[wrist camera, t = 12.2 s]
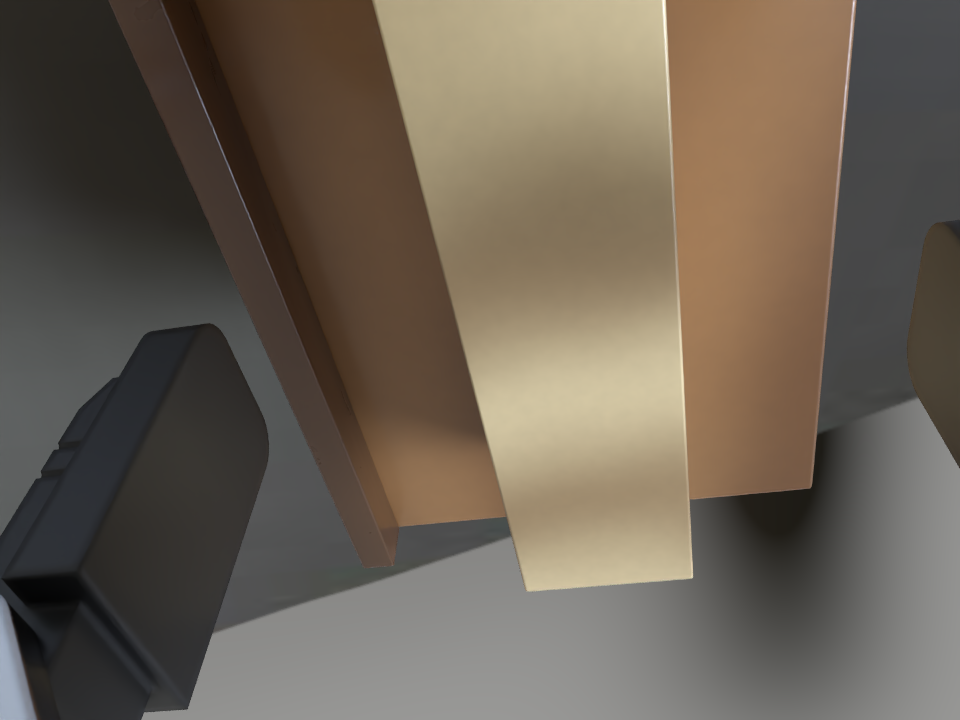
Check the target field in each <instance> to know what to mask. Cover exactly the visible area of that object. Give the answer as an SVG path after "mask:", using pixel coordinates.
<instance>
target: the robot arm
mask: <svg viewBox="0 0 960 720" xmlns="http://www.w3.org/2000/svg"><path fill="white" fill-rule="evenodd" d="M907 359H908V367H909V372H910V376H911V380H912V383H913V386H914V389H915V391H916V393H917V395H918V397H919V399H920V401H921V403H922V404H923V406H924V408H925V409H926V411H927V413H928V415H929V416H930V418H931V420H932V421H933V423H934V425H935V426H936V428H937V430H938V432H939V433H940V435H941V437H942V439H943V440H944V442H945V444H946V445H947V447H948V449H949V451H950V452H951V454H952V456H953V458H954V459H955V461H956V463H957V465H958V466H959V468H960V220H955V221H948V222H941V223H936V224H934V225H933V226H932V227H931V228H930V229H929V231H928V233H927V235H926V238H925V241H924V246H923V251H922V257H921V263H920V269H919V275H918V280H917V286H916V292H915V298H914V304H913V310H912V316H911V322H910V327H909V333H908V340H907ZM58 444H59V450H54V451H53V452H52V454H51V455H50V457H49V459H48V460H47V462H46V464H45V465H44V467H43V468H42V470H41V474H42V477H41V478H39V479H36V480H35V481H34V483H33V485H32V486H31V488H30V489H29V491H28V493H27V494H26V496H25V497H24V499H23V501H22V502H21V504H20V506H19V507H18V509H17V510H16V512H15V514H14V515H13V517H12V519H11V520H10V522H9V523H8V525H7V527H6V528H5V530H4V531H3V533H2V535H1V536H0V720H141V719H142V716H143V713H144V712H155V711H171V710H185V709H188V706H189V703H190V700H191V697H192V693H193V691H194V687H195V684H196V681H197V678H198V675H199V672H200V669H201V666H202V663H203V660H204V657H205V654H206V651H207V647H208V645H209V642H210V639H211V636H212V632H213V629H214V626H215V623H216V620H217V617H218V614H219V611H220V608H221V605H222V602H223V599H224V596H225V593H226V590H227V586H228V583H229V580H230V577H231V574H232V571H233V568H234V565H235V562H236V559H237V556H238V553H239V550H240V547H241V544H242V540H243V537H244V534H245V531H246V528H247V525H248V522H249V519H250V516H251V513H252V510H253V507H254V504H255V501H256V498H257V494H258V491H259V488H260V485H261V482H262V479H263V476H264V473H265V470H266V466H267V462H268V455H269V441H268V433H267V428H266V424H265V420H264V417H263V415H262V413H261V411H260V409H259V407H258V404H257V402H256V400H255V398H254V396H253V394H252V392H251V390H250V388H249V386H248V384H247V382H246V379H245V377H244V375H243V373H242V371H241V369H240V367H239V365H238V363H237V361H236V359H235V357H234V355H233V352H232V350H231V348H230V346H229V344H228V342H227V340H226V338H225V336H224V335H223V333H222V332H221V330H220V329H219V328H218V327H216V326H215V325H213V324H210V323H209V324H200V325H193V326H186V327H179V328H172V329H165V330H157V331H151V332H148V333H147V334H145V335H144V336H143V338H142V339H141V340H140V342H139V344H138V346H137V347H136V349H135V351H134V352H133V354H132V356H131V357H130V359H129V361H128V362H127V364H126V366H125V368H124V369H123V371H122V373H121V374H120V376H119V377H117V378H112V379H111V380H110V381H109V382H108V383H107V384H106V385H105V386H104V387H103V388H102V389H101V390H99V391H98V392H97V393H96V394H95V395H94V396H93V397H92V398H91V399H90V400H89V401H88V402H86V403H85V404H84V405H83V406H82V407H81V408H80V409H79V410H78V412H77V413H76V415H75V417H74V418H73V420H72V421H71V423H70V425H69V426H68V428H67V430H66V431H65V433H64V434H63V436H62V438H61V439H60V441H59V443H58Z"/></svg>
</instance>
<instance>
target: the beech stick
mask: <svg viewBox="0 0 960 720" xmlns="http://www.w3.org/2000/svg"><path fill="white" fill-rule="evenodd" d="M372 3H373V6H374V10H375V14H376V18H377V22H378V26H379V29H380V33H381V37H382V41H383V45H384V49H385V53H386V56H387V60H388V64H389V68H390V72H391V76H392V79H393V83H394V87H395V91H396V95H397V99H398V102H399V106H400V110H401V114H402V118H403V122H404V126H405V129H406V133H407V137H408V141H409V145H410V149H411V152H412V156H413V160H414V164H415V168H416V172H417V175H418V179H419V183H420V187H421V191H422V195H423V199H424V202H425V206H426V210H427V214H428V218H429V222H430V225H431V229H432V233H433V237H434V241H435V245H436V248H437V252H438V256H439V260H440V264H441V268H442V272H443V275H444V279H445V283H446V287H447V291H448V295H449V298H450V302H451V306H452V310H453V314H454V318H455V321H456V325H457V329H458V333H459V337H460V341H461V345H462V348H463V352H464V356H465V360H466V364H467V368H468V371H469V375H470V379H471V383H472V387H473V391H474V394H475V398H476V402H477V406H478V410H479V414H480V418H481V421H482V425H483V429H484V433H485V437H486V441H487V444H488V448H489V452H490V456H491V460H492V464H493V467H494V471H495V475H496V479H497V483H498V487H499V491H500V494H501V498H502V502H503V506H504V510H505V514H506V517H507V521H508V525H509V529H510V533H511V537H512V540H513V544H514V548H515V552H516V555H517V560H518V564H519V567H520V571H521V575H522V579H523V583H524V586H525V590H526V591H528V592H529V591H542V590H555V589H566V588H567V589H568V588H579V587H593V586H605V585H616V584H617V585H618V584H630V583H641V582H642V583H643V582H655V581H668V580H680V579H691V578H692V577H693V563H692V542H691V522H690V500H689V479H688V458H687V437H686V416H685V394H684V373H683V352H682V331H681V310H680V289H679V268H678V247H677V226H676V205H675V184H674V163H673V142H672V121H671V100H670V79H669V58H668V37H667V15H666V0H372Z"/></svg>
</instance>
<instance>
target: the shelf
mask: <svg viewBox="0 0 960 720" xmlns="http://www.w3.org/2000/svg"><path fill="white" fill-rule="evenodd" d="M108 1H109V4H110V6H111V8H112V10H113V12H114V15H115V17H116V19H117V21H118V24H119V26H120V28H121V30H122V32H123V35H124V37H125V39H126V41H127V44H128V46H129V48H130V50H131V52H132V55H133V57H134V59H135V61H136V64H137V66H138V68H139V70H140V72H141V75H142V77H143V79H144V81H145V84H146V86H147V88H148V90H149V92H150V95H151V97H152V99H153V101H154V104H155V106H156V108H157V110H158V112H159V115H160V117H161V119H162V121H163V124H164V126H165V128H166V130H167V133H168V135H169V137H170V139H171V141H172V144H173V146H174V148H175V150H176V153H177V155H178V157H179V159H180V161H181V164H182V166H183V168H184V170H185V173H186V175H187V177H188V179H189V181H190V184H191V186H192V188H193V190H194V193H195V195H196V197H197V199H198V201H199V204H200V206H201V208H202V210H203V213H204V215H205V217H206V219H207V221H208V224H209V226H210V228H211V230H212V233H213V235H214V237H215V239H216V241H217V244H218V246H219V248H220V250H221V253H222V255H223V257H224V259H225V261H226V264H227V266H228V268H229V270H230V273H231V275H232V277H233V279H234V281H235V284H236V286H237V288H238V290H239V293H240V295H241V297H242V299H243V302H244V304H245V306H246V308H247V310H248V313H249V315H250V317H251V319H252V322H253V324H254V326H255V328H256V330H257V333H258V335H259V337H260V339H261V342H262V344H263V346H264V348H265V350H266V353H267V355H268V357H269V359H270V362H271V364H272V366H273V368H274V370H275V373H276V375H277V377H278V379H279V382H280V384H281V386H282V388H283V390H284V393H285V395H286V397H287V399H288V402H289V404H290V406H291V408H292V410H293V413H294V415H295V417H296V419H297V422H298V424H299V426H300V428H301V430H302V433H303V435H304V437H305V439H306V442H307V444H308V446H309V448H310V451H311V453H312V455H313V457H314V459H315V462H316V464H317V466H318V468H319V471H320V473H321V475H322V477H323V479H324V482H325V484H326V486H327V488H328V491H329V493H330V495H331V497H332V499H333V502H334V504H335V506H336V508H337V511H338V513H339V515H340V517H341V519H342V522H343V524H344V526H345V528H346V531H347V533H348V535H349V537H350V539H351V542H352V544H353V546H354V548H355V551H356V553H357V555H358V557H359V559H360V562H361V564H362V566H363V568H374V567H386V566H393V565H394V560H395V553H396V546H397V540H398V533H399V527H401V526H412V525H422V524H433V523H444V522H455V521H465V520H476V519H487V518H498V517H506V514H505V510H504V506H503V502H502V498H501V494H500V491H499V487H498V483H497V479H496V475H495V471H494V467H493V464H492V460H491V456H490V452H489V448H488V444H487V441H486V437H485V433H484V429H483V425H482V421H481V418H480V414H479V410H478V406H477V402H476V398H475V394H474V391H473V387H472V383H471V379H470V375H469V371H468V368H467V364H466V360H465V356H464V352H463V348H462V345H461V341H460V337H459V333H458V329H457V325H456V321H455V318H454V314H453V310H452V306H451V302H450V298H449V295H448V291H447V287H446V283H445V279H444V275H443V272H442V268H441V264H440V260H439V256H438V252H437V248H436V245H435V241H434V237H433V233H432V229H431V225H430V222H429V218H428V214H427V210H426V206H425V202H424V199H423V195H422V191H421V187H420V183H419V179H418V175H417V172H416V168H415V164H414V160H413V156H412V152H411V149H410V145H409V141H408V137H407V133H406V129H405V126H404V122H403V118H402V114H401V110H400V106H399V102H398V99H397V95H396V91H395V87H394V83H393V79H392V76H391V72H390V68H389V64H388V60H387V56H386V53H385V49H384V45H383V41H382V37H381V33H380V29H379V26H378V22H377V18H376V14H375V10H374V6H373V3H372V0H108ZM856 3H857V0H666V15H667V37H668V58H669V79H670V100H671V121H672V142H673V163H674V184H675V205H676V226H677V247H678V268H679V289H680V310H681V331H682V352H683V373H684V394H685V416H686V437H687V458H688V479H689V500H690V499H702V498H711V497H723V496H733V495H744V494H755V493H766V492H777V491H786V490H798V489H808V488H811V486H812V479H813V468H814V457H815V446H816V435H817V425H818V414H819V403H820V392H821V381H822V371H823V360H824V349H825V338H826V327H827V316H828V306H829V295H830V284H831V273H832V262H833V252H834V241H835V230H836V219H837V208H838V197H839V187H840V176H841V165H842V154H843V143H844V132H845V122H846V111H847V100H848V89H849V78H850V68H851V57H852V46H853V35H854V24H855V13H856Z"/></svg>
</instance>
